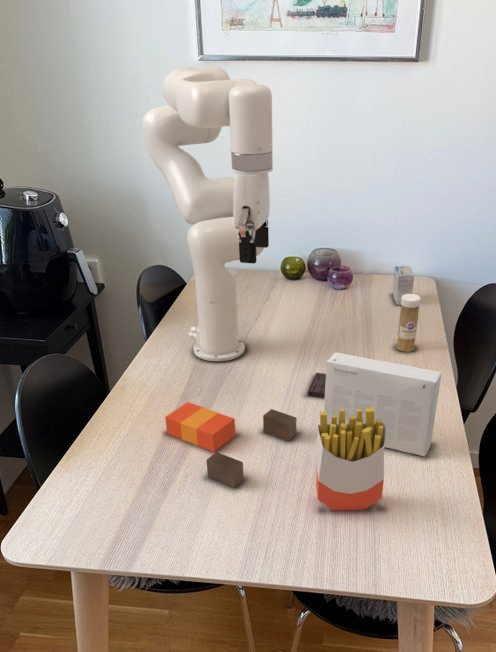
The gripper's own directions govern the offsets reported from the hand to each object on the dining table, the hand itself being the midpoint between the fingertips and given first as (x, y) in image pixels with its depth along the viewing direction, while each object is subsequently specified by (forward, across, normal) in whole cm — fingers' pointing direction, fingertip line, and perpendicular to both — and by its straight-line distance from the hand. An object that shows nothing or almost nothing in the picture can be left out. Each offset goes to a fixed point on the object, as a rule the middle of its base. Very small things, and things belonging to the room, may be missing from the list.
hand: (254, 254), depth 132 cm
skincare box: (+31, +14, +28) cm, 44 cm away
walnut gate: (+31, +25, +6) cm, 40 cm away
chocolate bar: (+31, -4, +20) cm, 37 cm away
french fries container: (+31, +35, +25) cm, 53 cm away
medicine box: (+31, -59, +27) cm, 72 cm away
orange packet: (+31, +20, -7) cm, 37 cm away
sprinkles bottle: (+31, -28, +30) cm, 52 cm away
